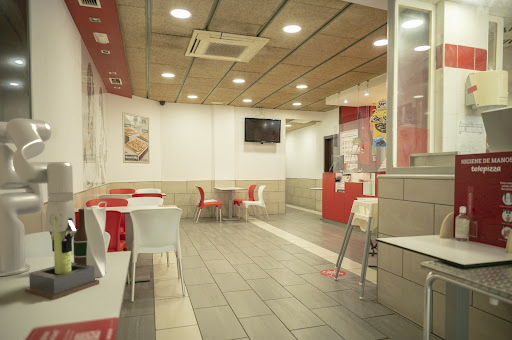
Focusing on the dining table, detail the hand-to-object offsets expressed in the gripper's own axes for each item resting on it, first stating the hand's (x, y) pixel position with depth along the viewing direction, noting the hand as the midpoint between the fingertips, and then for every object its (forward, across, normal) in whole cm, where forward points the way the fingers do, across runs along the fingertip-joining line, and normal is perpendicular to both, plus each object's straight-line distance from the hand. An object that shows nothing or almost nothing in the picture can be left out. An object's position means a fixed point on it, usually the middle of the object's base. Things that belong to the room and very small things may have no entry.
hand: (62, 250), depth 113 cm
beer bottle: (+13, -18, +20) cm, 30 cm away
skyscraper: (+13, -1, +14) cm, 19 cm away
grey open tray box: (+13, 0, 0) cm, 13 cm away
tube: (+8, 0, 0) cm, 8 cm away
